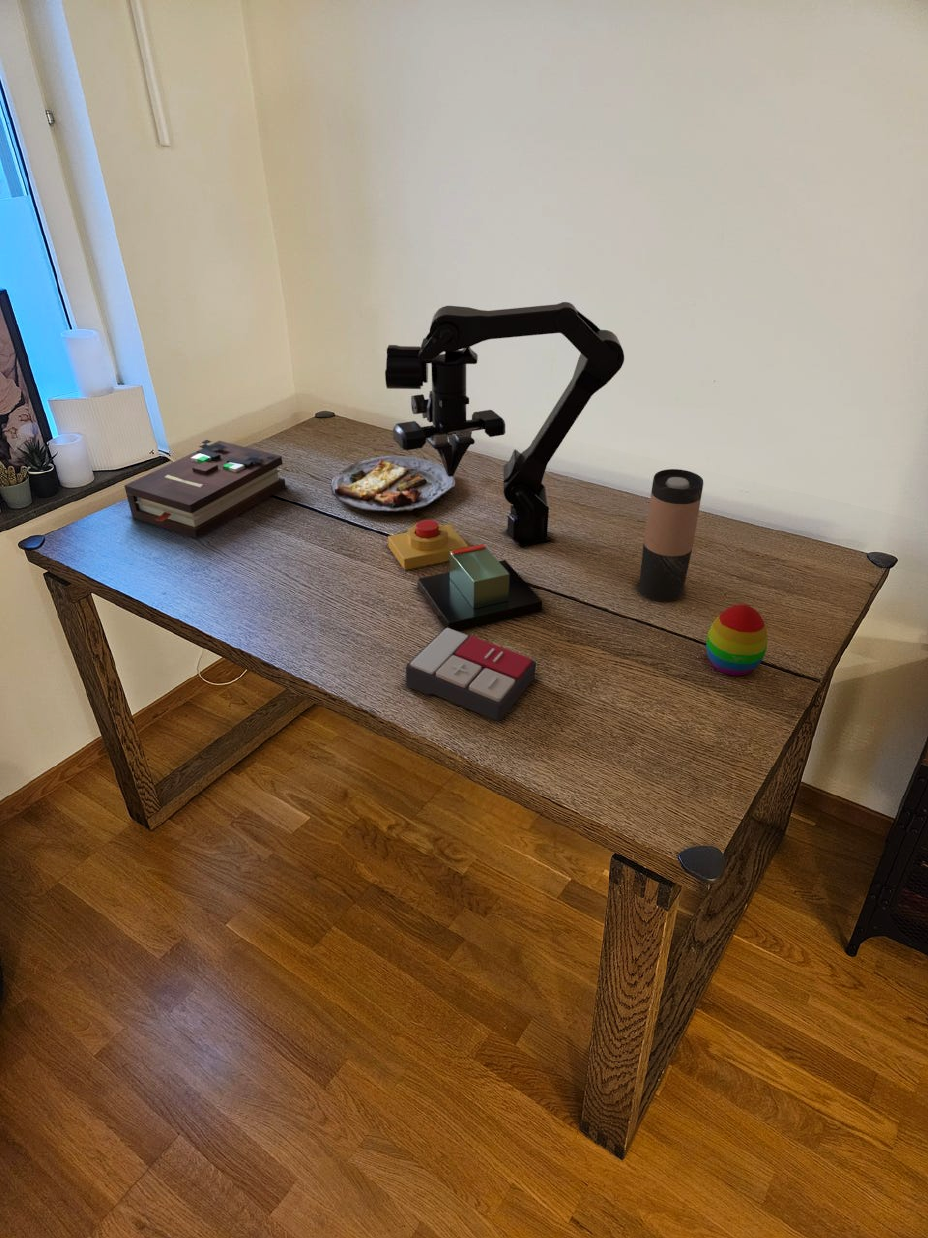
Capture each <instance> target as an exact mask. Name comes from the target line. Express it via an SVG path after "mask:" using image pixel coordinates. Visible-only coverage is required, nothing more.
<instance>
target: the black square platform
mask: <svg viewBox="0 0 928 1238" xmlns="http://www.w3.org/2000/svg"><path fill="white" fill-rule="evenodd" d="M498 562H499V563H500V564H501V565H502V566H503V567H504V568H505V569H506V570H507V572H508V573H509V601H506V602H501V603H497V604H493V605H488V606H484V607H480V608H476V609H474V608H473V607H472V606H471V605H470V603H469V602H468V601H467V599H466V598H465V597H464V596H463V594H462V593H461V592H460V590H459V589H458V588H457V587H456V585H455V584H454V583H453V581H452V580H451V579H450V571H447V572H443V573H437V574H433V575H428V576H424V577H419V578H418V577H417V580H416V581H417V584H416V585H417V591H419V593H420V595H421V596H422V597H423V599H424V600H425V601H426V603H427V605H428V606H429V608H430V609H431V611H432V612H433V613H434V615H435V617H436V618H437V619H438V620H439V622H440V623H441V625H442V626H443V627H444V628H450V629H452V630H455V631H458V632H461V631H465V630H470V629H475V628H478V627H483V626H487V625H491V624H495V623H500V622H503V621H507V620H511V619H512V620H513V619H516V618H520V617H524V616H529V615H532V614H537V613H540V612H541V613H542V611H543V600H542V599H541V597H540V596H539V595H538V594H537V593H536V592H535V591H534V590H533V589H532V588H531V587H530V586H529V584H528V583H527V582H526V581H525V580H524V578H522V577H521V575H519V573H518V572H517V571H516V570H515V569H514V568H513V567H512V566H511V564H509V562H508V561H507V560H506V559H503V560H498Z"/></svg>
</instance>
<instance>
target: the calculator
mask: <svg viewBox="0 0 928 1238" xmlns="http://www.w3.org/2000/svg"><path fill="white" fill-rule="evenodd" d="M536 668H537V662H536V661H535V660H533V659H532V658H531V657H528V656H526V655H523V654H520V653H518V652H515V651H513V650H510V649H507V648H505V647H503V646H499V645H497V644H494V643H492V642H488V641H486V640H484V639H482V638H479V637H476V636H473V635H472V636H470V635H468V634H465V633H463V632H461V631H455V630H452V629H450V628H445V627H444V628H442V630H441V631H440V632H439V633H438V634H436V636H435V637H433V639H432V640H431V641H429V643H427V645H425V646H424V647H423V648H422V649H421V650H420V651H419V652H418V653H417V654H416V655H415V656H414V657H413V658H412V659H411V660H410V661H409V662H408V663H407V664H405V685H406V686H407V687H408V688H410V689H412V690H415V691H417V692H420V693H421V694H423V695H427V696H428V695H435V696H437V697H440V698H441V699H444V700H447V701H449V702H451V703H453V704H456V705H458V706H460V707H463V708H466V709H467V710H470V711H472V712H474V713H477V714H478V715H479V714H480V715H481V716H484V717H486V718H489V719H491V720H493V721H496V722H501V720H502V719H503V718H504V717H505V716H506V714H507V713H508V712H509V711H510V709H511V708H512V707H513V706H514V704H516V702H517V701H518V699H519V698H520V697H521V696H522V694H523V693H524V692H525V691H526V690H527V688H528V687H529V686H530V685H531V683H532V682H533V681H534V679H535V678H536V677H535V676H536Z"/></svg>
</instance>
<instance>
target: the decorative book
mask: <svg viewBox="0 0 928 1238" xmlns="http://www.w3.org/2000/svg"><path fill="white" fill-rule="evenodd" d="M200 444H202V445H199V446H198V447H199V448H201V449H198V450H196V451H194V452H192V453H190V454H188V455H186V456H184V457H182V458H180V459H177V460H175V461H172V462H171V463H169V464H166V465H164V466H162V467H160V468H158V469H156V470H153V471H152V472H150V473H147V474H145V475H143V476H141V477H139V478H137V479H135V480H133V481H130V482H129V483H126V484H124V486H123V487H124V491H125V494H126V498H127V502H128V506H129V509H130V514H131V517H132V518H133V519H136V520H139V521H142V522H145V523H148V524H151V525H155V526H158V527H161V528H164V529H167V530H170V531H174V532H176V533H180V534H183V535H186V536H189V537H192V538H195V539H199V538H200V537H202V536H203V535H205V534H206V533H209V532H210V531H212V530H214V529H215V528H217V527H219V526H221V525H222V524H224V523H226V522H227V521H229V520H231V519H233V518H234V517H236V516H238V515H240V514H241V513H243V512H245V511H246V510H248V509H250V508H252V507H254V506H255V505H257V504H258V503H261V502H262V501H264V500H265V499H267V498H269V497H271V496H273V495H274V494H276V493H278V492H279V491H281V490H283V489H284V488H286V486H287V485H286V479H285V478H281V477H279V472H281V471H283V468H280V466H282V465H283V464H284V463H283V456H281V455H278V454H274V453H270V452H267V451H262V450H259V449H255V448H251V447H247V446H243V445H238V444H234V443H230V442H226V441H222V440H217V441H215V442H213V443H212V440H208V439H205V440H202V441H200ZM208 444H209V445H208Z"/></svg>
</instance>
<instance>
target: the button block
mask: <svg viewBox="0 0 928 1238" xmlns="http://www.w3.org/2000/svg"><path fill="white" fill-rule="evenodd" d="M387 546H388V548H389V550H390V551H391V552H392V554H393V555H394V557H395V558H396V560H397V561H398V562H399V564H400V566H401V567H402V569H403V570H404V571H406V570H413V569H417V568H421V567H426V566H431V565H435V564H441V563H445V562H450V552H451V551H452V550H457V549H462V548H467V547H470V546H469V545H468V543H467V542H466V541H465V540H464V538H462V536H461V535H460V534H459V533H458V532H457V531H456V529H454V527H453V526H452V525H451V524H450V523H448V524H443V525H441V524H439V535H438V536H436V537H433V538H420V537H418V536H417V535H416V524H415V525H413V526H411V527H409V528H408V531H406V532H402V533H396V534H390V535H388V536H387Z"/></svg>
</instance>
